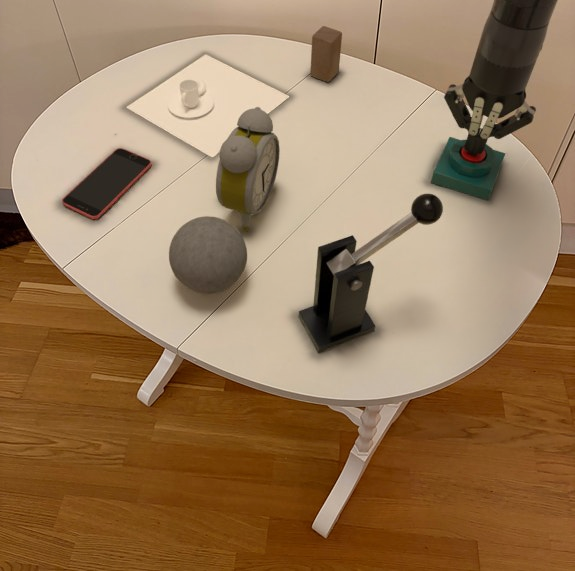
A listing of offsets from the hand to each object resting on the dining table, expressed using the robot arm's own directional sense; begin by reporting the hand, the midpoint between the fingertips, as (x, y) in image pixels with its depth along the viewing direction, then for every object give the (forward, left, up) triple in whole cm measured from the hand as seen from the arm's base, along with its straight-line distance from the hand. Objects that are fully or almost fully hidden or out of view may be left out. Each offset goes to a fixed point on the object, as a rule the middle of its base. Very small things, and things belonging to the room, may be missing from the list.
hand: (472, 151), depth 90 cm
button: (0, 0, -2) cm, 2 cm away
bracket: (+8, +35, -4) cm, 36 cm away
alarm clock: (+28, +21, -4) cm, 35 cm away
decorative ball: (+26, +35, -4) cm, 44 cm away
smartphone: (+49, +26, -4) cm, 56 cm away
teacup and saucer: (+45, +2, -4) cm, 45 cm away
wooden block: (+30, -14, -4) cm, 33 cm away
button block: (0, 0, -4) cm, 4 cm away
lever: (+4, +30, +9) cm, 32 cm away
